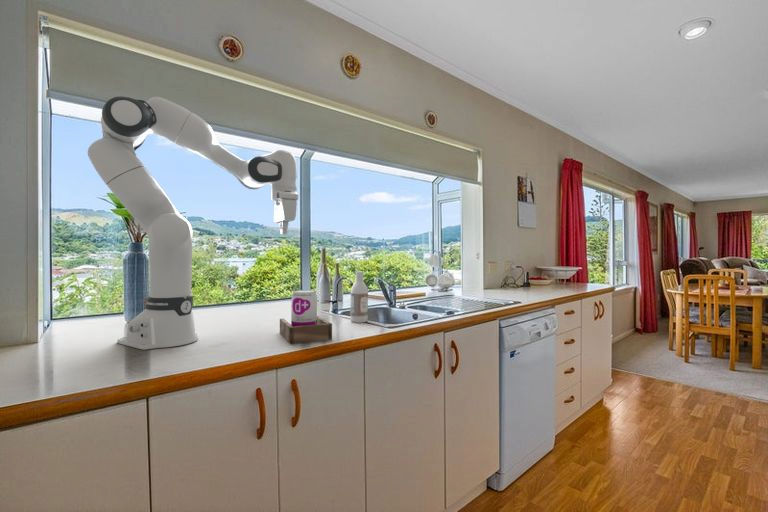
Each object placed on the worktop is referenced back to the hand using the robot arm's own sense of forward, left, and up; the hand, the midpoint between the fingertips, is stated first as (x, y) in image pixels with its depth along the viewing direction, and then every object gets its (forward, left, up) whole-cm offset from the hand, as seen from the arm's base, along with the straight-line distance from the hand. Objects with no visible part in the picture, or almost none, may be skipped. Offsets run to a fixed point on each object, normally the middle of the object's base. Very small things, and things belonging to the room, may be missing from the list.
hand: (283, 234), depth 134 cm
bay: (+14, -9, -34) cm, 38 cm away
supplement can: (+14, -10, -34) cm, 38 cm away
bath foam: (+22, +20, -34) cm, 45 cm away
